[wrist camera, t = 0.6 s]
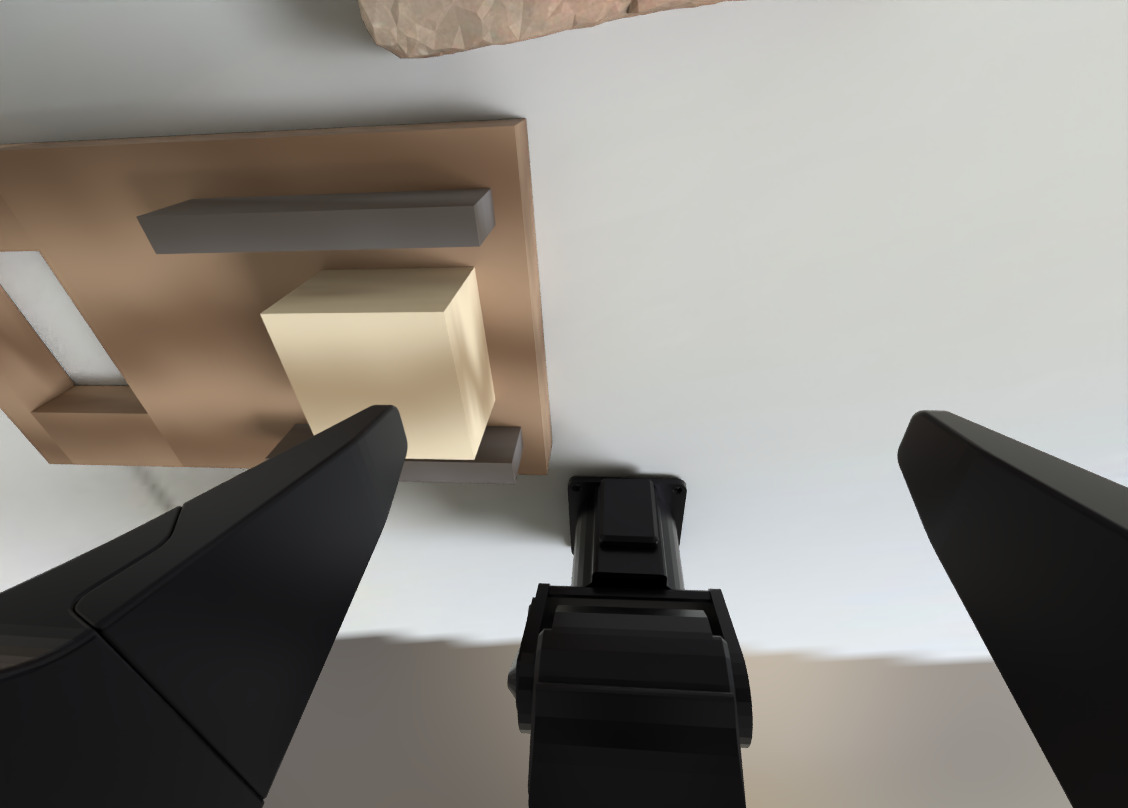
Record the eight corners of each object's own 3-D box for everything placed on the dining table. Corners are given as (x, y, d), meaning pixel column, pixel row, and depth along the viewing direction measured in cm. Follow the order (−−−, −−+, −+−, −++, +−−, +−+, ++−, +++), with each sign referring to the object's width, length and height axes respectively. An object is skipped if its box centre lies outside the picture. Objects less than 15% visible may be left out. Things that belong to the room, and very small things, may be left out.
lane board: (552, 442, 26) (540, 513, 22) (89, 435, 28) (2, 497, 24) (526, 118, 17) (499, 135, 13) (-133, 150, 20) (-325, 173, 16)
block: (495, 399, 21) (474, 460, 18) (366, 398, 22) (323, 456, 19) (474, 266, 18) (443, 311, 15) (322, 270, 19) (259, 313, 15)
